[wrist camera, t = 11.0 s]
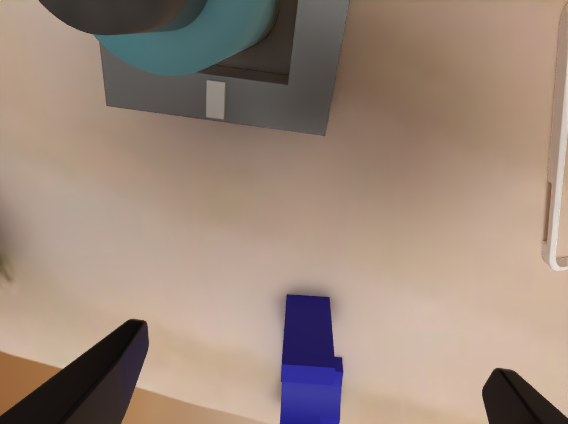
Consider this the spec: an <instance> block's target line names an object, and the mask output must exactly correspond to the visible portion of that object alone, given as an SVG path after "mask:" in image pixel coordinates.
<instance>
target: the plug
mask: <svg viewBox="0 0 568 424" xmlns="http://www.w3.org/2000/svg"><path fill="white" fill-rule="evenodd" d="M39 1H40V2H41V4H42V5H43V6H44V7H45V8H46V9H48V10H49V11H50V12H51V13H52V14H53V15H55V16H56V17H57V18H58V19H60V20H61V21H63V22H64V23H66V24H68V25H69V26H71V27H73V28H76V29H78V30H80V31H83V32H86V33H90V34H93V35H94V36H95V37H96V38H97V39H98V40H99V41H100V42H101V43H102V44H103V45H104V46H105V47H106V48H107V49H108V50H109V51H110V52H112V53H113V54H114V55H115V56H117V57H118V58H120V59H121V60H123V61H125V62H126V63H128V64H130V65H132V66H134V67H136V68H138V69H141V70H143V71H146V72H149V73H154V74H159V75H167V76H178V75H186V74H191V73H195V72H198V71H200V70H203V69H205V68H208V67H210V66H212V65H214V64H216V63H218V62H220V61H222V60H224V59H226V58H228V57H231V56H233V55H235V54H237V53H239V52H241V51H243V50H245V49H247V48H249V47H251V46H253V45H255V44H257V43H259V42H260V41H261V40H263V39H264V38H265V37H266V36H267V34H268V33H269V32H270V30H271V29H272V27H273V25H274V23H275V21H276V19H277V15H278V12H279V5H280V0H39Z"/></svg>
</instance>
